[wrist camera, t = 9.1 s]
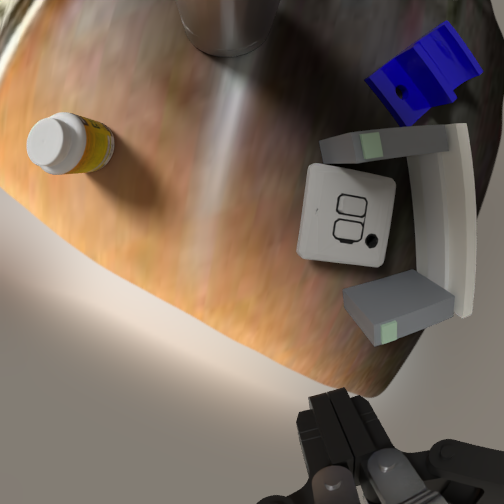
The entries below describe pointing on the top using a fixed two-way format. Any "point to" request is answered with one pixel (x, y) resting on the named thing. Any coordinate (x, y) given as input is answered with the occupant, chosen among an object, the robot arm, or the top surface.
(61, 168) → the supplement bottle
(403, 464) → the robot arm
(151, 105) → the top surface
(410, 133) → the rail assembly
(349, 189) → the electrical switch
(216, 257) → the top surface
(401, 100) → the mounting bracket
